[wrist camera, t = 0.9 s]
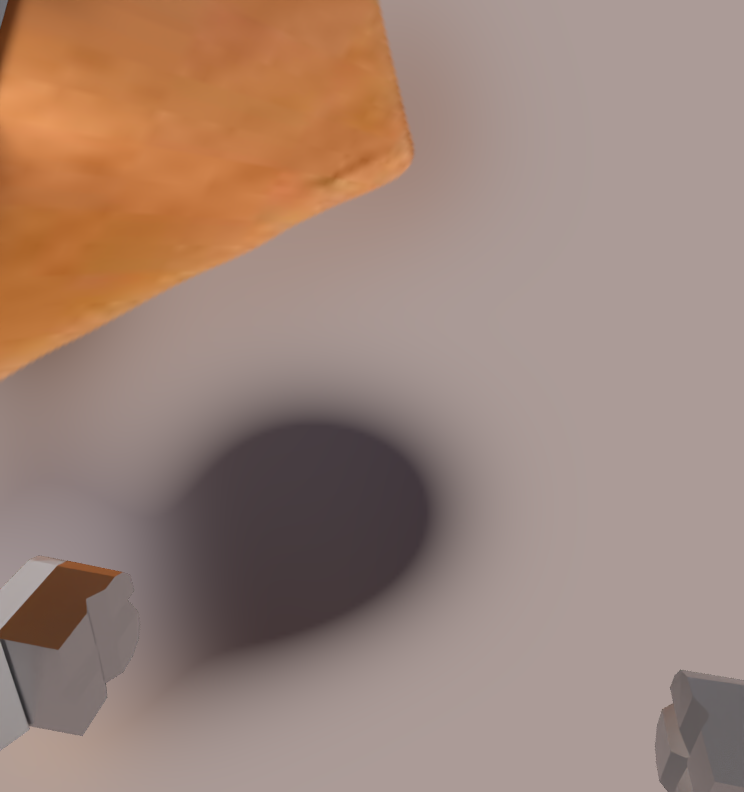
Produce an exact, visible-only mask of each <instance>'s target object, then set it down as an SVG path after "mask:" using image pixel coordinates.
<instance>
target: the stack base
mask: <svg viewBox="0 0 744 792" xmlns="http://www.w3.org/2000/svg"><path fill="white" fill-rule="evenodd" d="M7 2H8V0H0V27H1V24H2V20H3V17H4V13H5V9H6V6H7Z"/></svg>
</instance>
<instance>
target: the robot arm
mask: <svg viewBox="0 0 744 792" xmlns="http://www.w3.org/2000/svg"><path fill="white" fill-rule="evenodd" d="M133 592H134V588H133V584H132V580H131V576H130V575H129V574H127V573H124V572H119V571H115V570H110V569H105V568H100V567H95V566H90V565H86V564H81V563H76V562H71V561H64V560H59V559H54V558H49V557H44V556H37V557H34V558H32V559H30V560H28V561H27V562H26V563H25V564H24V565H23V566H22V567H21V568H20V569H19V570H18V571H17V573H15V574H14V575H13V576H12V578H11V579H10V580H9V581H8V582H7V583H6V584H5V585H4V586H3V587H2V588H1V589H0V751H1V750H2V749H3V748H5V747H6V746H8V745H9V744H10V743H12V742H13V741H14V740H16V739H17V738H19V737H20V736H21V735H23V734H24V733H25V732H27V731H28V730H29V729H30V728H29V726H32V727H37V728H43V729H48V730H53V731H58V732H64V733H69V734H74V735H80V736H83V734H84V733H85V731H86V730H87V728H88V727H89V725H90V723H91V722H92V720H93V719H94V717H95V716H96V714H97V713H98V711H99V709H100V708H101V706H102V705H103V703H104V702H105V700H106V698H107V689H106V682H108V681H110V680H111V679H113V678H115V677H116V676H118V675H119V674H121V673H123V672H124V670H125V668H126V667H127V665H128V663H129V662H130V660H131V658H132V657H133V654H134V651H135V648H136V645H137V642H138V639H139V631H140V620H139V614H138V611H137V610H136V609H135V608H134V606H133V605H132V604H131V603H130V602H129V601H128V599H129V597H130V596H131V595H132V593H133ZM670 690H671V694H672V699H673V704H671V705H669V706H667V707H665V708H664V709H662V711H661V715H660V718H659V721H658V724H657V731H656V742H655V751H656V764H657V770H658V776H659V781H660V783H661V784H662V785H663V786H664V788H665V789H666V790H667V791H668V792H744V680H740V679H734V678H727V677H721V676H715V675H709V674H703V673H697V672H691V671H685V670H680V671H679V672H678V673H677V674H676V675H675V676H674V679H673V681H672V684H671V687H670Z"/></svg>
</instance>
